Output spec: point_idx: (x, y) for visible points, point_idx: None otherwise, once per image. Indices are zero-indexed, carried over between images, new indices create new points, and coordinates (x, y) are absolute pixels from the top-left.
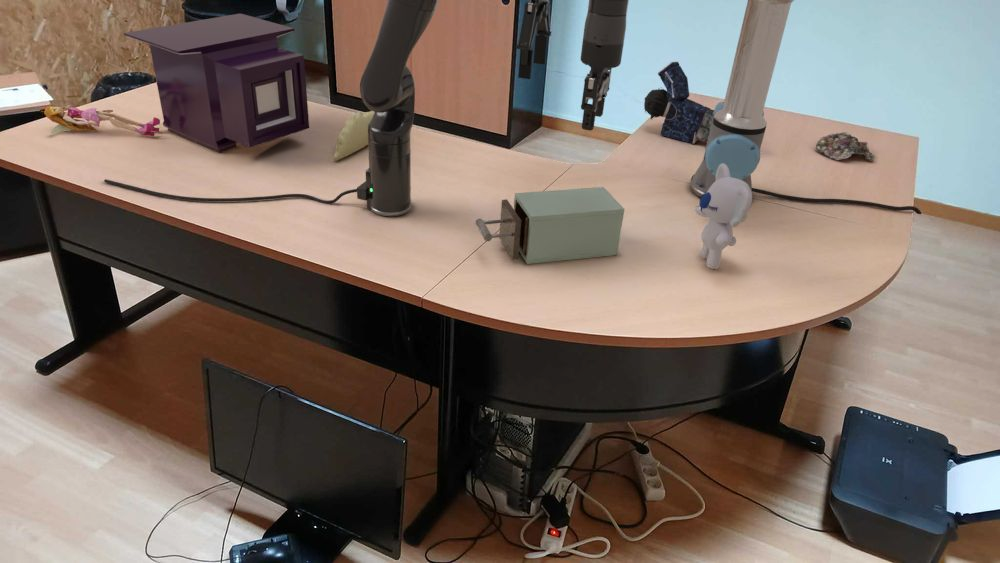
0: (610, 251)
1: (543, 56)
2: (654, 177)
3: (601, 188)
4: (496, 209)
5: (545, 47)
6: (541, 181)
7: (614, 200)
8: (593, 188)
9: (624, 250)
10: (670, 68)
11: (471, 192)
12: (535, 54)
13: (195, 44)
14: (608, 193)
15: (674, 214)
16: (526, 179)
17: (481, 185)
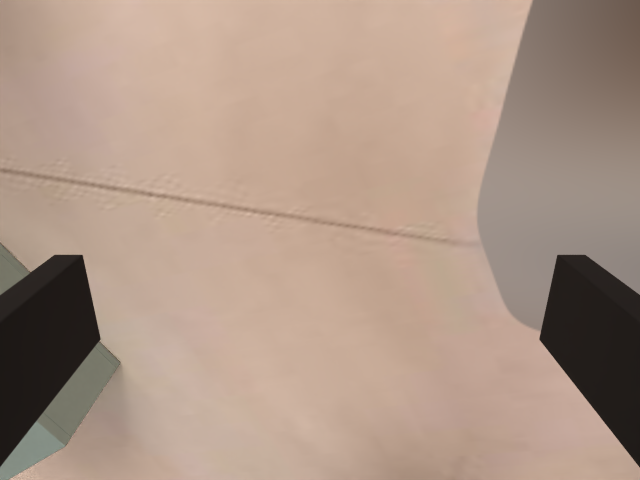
0: None
1: (574, 372)
2: (460, 426)
3: (51, 444)
4: (89, 125)
5: (627, 451)
6: (325, 192)
7: (4, 476)
8: (37, 428)
9: None
10: None
11: (150, 15)
12: (600, 304)
13: None
14: (33, 461)
15: (281, 473)
16: (320, 149)
17: (214, 29)
